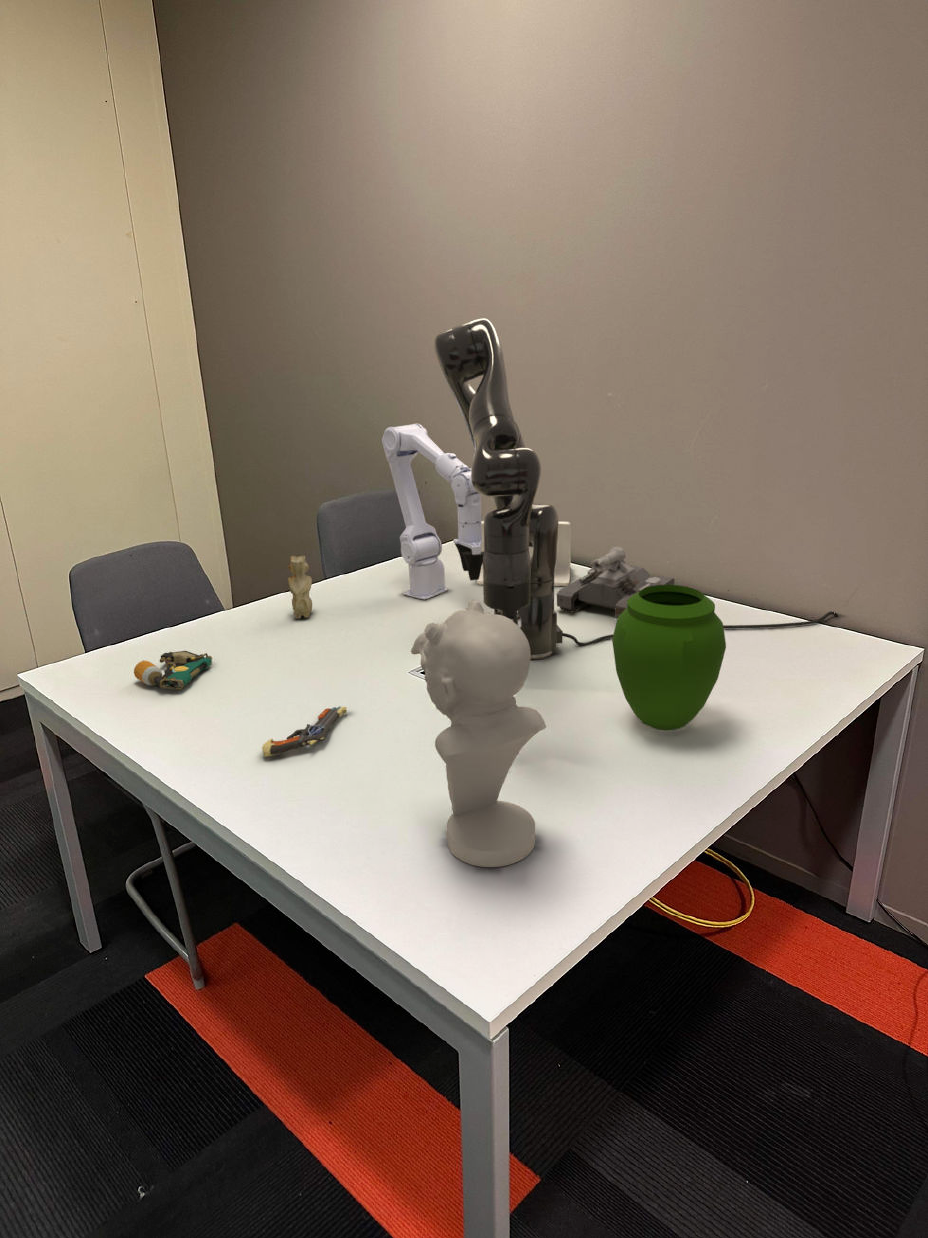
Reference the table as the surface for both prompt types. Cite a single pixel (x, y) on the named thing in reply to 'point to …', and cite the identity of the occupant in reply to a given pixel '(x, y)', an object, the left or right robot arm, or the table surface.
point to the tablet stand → (562, 555)
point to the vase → (668, 654)
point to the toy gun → (305, 733)
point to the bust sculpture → (481, 729)
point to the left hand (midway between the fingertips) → (471, 574)
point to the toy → (608, 584)
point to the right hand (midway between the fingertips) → (507, 673)
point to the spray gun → (172, 669)
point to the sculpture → (300, 587)
